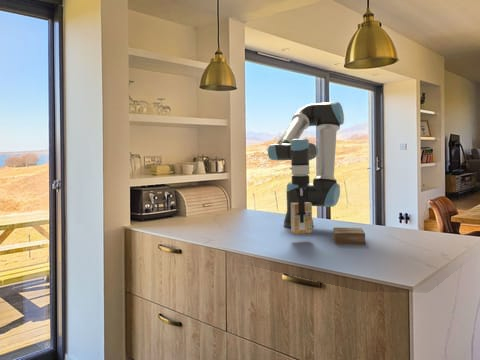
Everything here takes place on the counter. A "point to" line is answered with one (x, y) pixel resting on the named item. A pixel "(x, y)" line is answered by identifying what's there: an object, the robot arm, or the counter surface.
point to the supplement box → (295, 218)
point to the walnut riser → (349, 236)
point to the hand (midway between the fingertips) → (301, 228)
